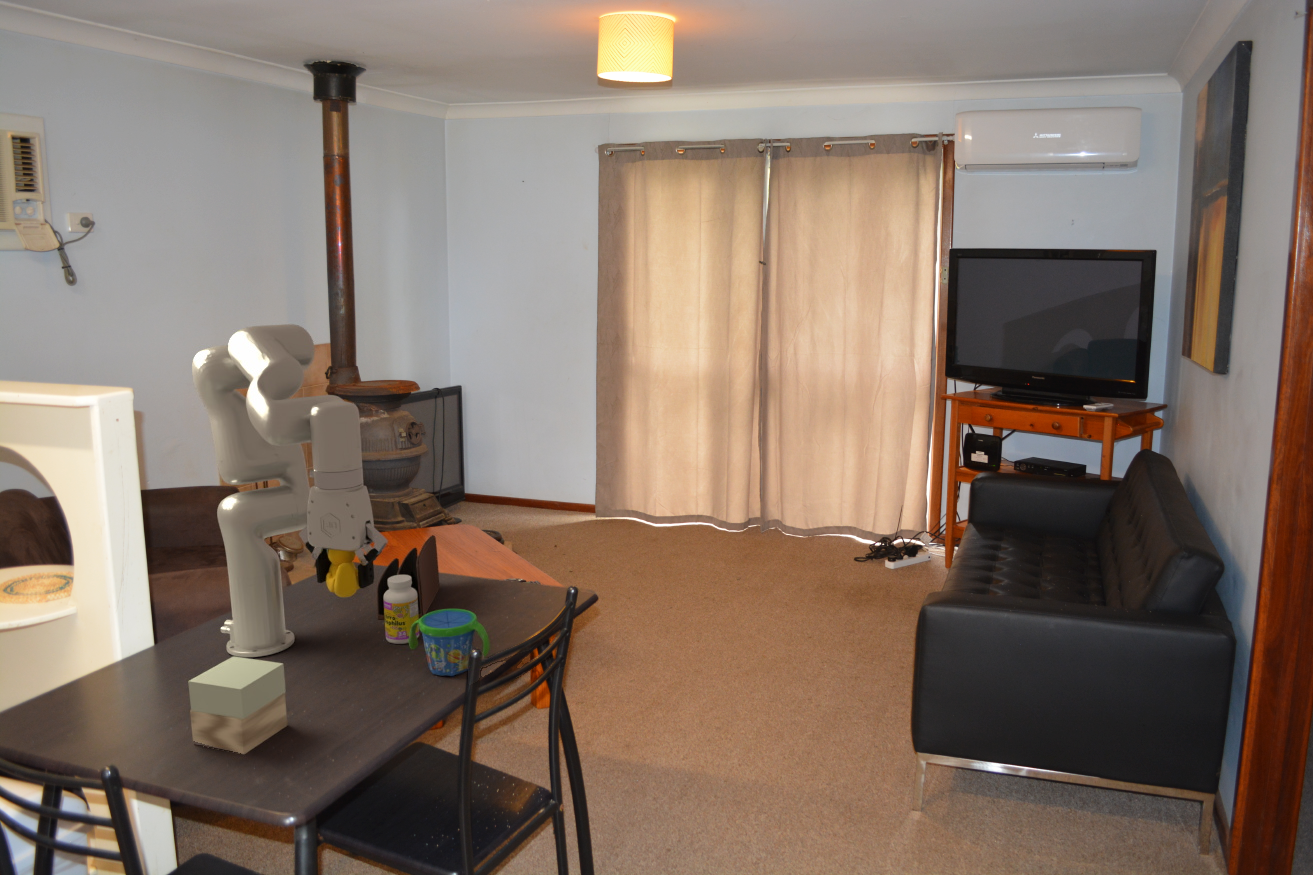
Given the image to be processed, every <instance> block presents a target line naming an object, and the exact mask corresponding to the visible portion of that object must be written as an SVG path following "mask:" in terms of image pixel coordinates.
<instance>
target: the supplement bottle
mask: <svg viewBox="0 0 1313 875" xmlns="http://www.w3.org/2000/svg"><path fill="white" fill-rule="evenodd" d="M411 584H412V578H411V576H409V575H395V576H392V577H390V578H388V587H389V590H387V591H386V592H385V593H384V615H385V619H384V630H385V631H384V633H385V639H386V641H387V642H388V643H391V644H395V645H397V644H398V645H401V644H402V645H405V644H409V633H410V629H411V626H412V625H413V623H414V622H416V621H417V620H418V619H419V617H418V596H417V591H416V590H415V589H414V588H412V587H411ZM415 633H416V636H417V639H418V638H419V637H420V627H419V624H417V627H416V632H415Z"/></svg>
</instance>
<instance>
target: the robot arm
mask: <svg viewBox="0 0 1313 875" xmlns="http://www.w3.org/2000/svg"><path fill="white" fill-rule="evenodd" d="M315 352H316V350H315V344H314V340H313V338H312V336H311V335H310V333H309V332H308V331H307V329H305V328H304V327H303V326H300V325H298V324H293V323H291V324H270V325H269V324H267V325H254V326H245V327H244V328H241V329H239V330H237V331H236V332H234V333H233V335H232V336H231V337H230V338H229V341H228V344H226V345H225V344H223V345H216V346H211V347H208V348H204V349H202V350H199V351H198V352H197V353H196V354H195V356H194V357H193V359H192V365H191V371H192V372H191V373H192V380H193V384H194V386H195V389H196V393H197V394H198V396H199V398H200V400H201V403H202V404H203V406H204V407H205V411H206V413H207V416H208V420H209V423H210V424H209V425H210V429H211V435H212V442H213V447H214V453H215V459H216V464H217V468H218V473H219V476H220V478H221V480H222V481H223V482H224V483H225V484H228V485H233V486H237V485H238V486H239V485H247V484H248V485H249V484H255V483H261V482H267V481H275V480H276V481H278V483H279V485H277V486H271V487H266V488H257V489H251V490H246V491H240V492H236V493H233V494H230V495H228V496H226V497H225V498H224V499H222V500H221V501H219V502H220V503H219V504H218V505H217V506H218V507H217V510H216V511H217V512H216V514H217V515H216V516H217V522H218V526H219V529H220V534H221V536H222V540H223V544H224V549H225V556H226V564H227V574H228V583H229V584H228V585H229V596H230V603H231V604H230V605H231V606H230V607H231V616H232V619H226V620H225V621H224V624H223V625H222V626H221V627H220V633H223V634H229V638H230V639H229V640H228V641H227V643H226V652H227V653H228V654H230V655H231V656H234V657H241V658H259V657H264V656H269V655H274V654H278V653H279V652H282V651H284V650H286V649H288V648H289V647H291V646H292V645H293V644H295V643H294V642H295V634H294V633H293V631H291V630H290V629H289V630H288V629H286V620H285V608H284V595H283V584H282V583H283V582H282V571H281V561H280V557H279V555H278V553H277V552H276V550H275V549H273V548H272V547H271V546H270V545H269V544H268V543H266V541H265V539H266V538H269V537H270V538H271V537H273V536H278V535H282V534H283V535H284V534H288V533H289V534H290V533H294V532H297V531H299V532H298V536H299V537H300V539H301V540H302V542H303V543H304V544H305V548H306V549H307V550H308V551H309V552H310V554H311V558H312V559H313V560H315V568H316V570H315V571H316V578H317V579H316V580H317V581H316V582H317V584H323V583H326V576H327V573H328V572H329V568H330V565H331V564H332V562H331V561H330V560H329V558H328V555H327V549H332V550H341V551H355V553H356V555H355V556H356V557H357V558H358V561H359V562H360V564H358V565H357V569H358V581H359V587H360V589H366V588H367V587H368V586H371V585H373V584H374V582H375V581H374V580H375V570H374V567H375V566H374V562H375V561H376V560H377V558H378V557H379V556H380V555H381V553H383V550H384V549H385V547H386V546H387V544H388V542H389V540H388V539H387V537H385V536H384V535H383V534H382V533H381V532H380V531H379V530H377V528H376V527H375V524H374V523H375V522H374V514H373V508H372V503H371V499H370V495H369V491H368V487H367V485H364V473H363V472H364V471H363V459H362V458H363V457H362V456H363V453H362V440H361V439H362V438H361V437H362V436H361V424H360V422H361V421H360V412H359V411H360V410H359V408H358V406H357V405H356V404H355V403H353V402H350V401H345V400H343V398H341V397H340V396H337V395H335V394H334V395H333V394H327V395H326V394H324V395H314V396H303V397H301V396H300V397H294V398H293V396H295V395H296V394H297V393H298V391H300V389H301V387H302V386H303V383H304V381H305V371H306V370H308V369H309V368H310V367H311V365H312V363H313V361H314V359H315V355H316V353H315ZM243 389H248V390H247V393H246V396H245V395H243V394H242V393H241V392H240V391H238V390H243ZM307 443H311V455H312V456H311V457H312V467H313V469H310V470H309V472H308V469H307V464H306V463H307V462H306V459H305V452H304V449H303V446H302V444H307ZM308 473H309V474H308ZM308 475H309V476H308ZM309 478H313V482H314V483H313V484H314V485H312V486H311V487H310V482H309ZM373 543H374V544H373ZM371 544H373V547H372V545H371Z"/></svg>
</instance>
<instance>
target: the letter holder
mask: <svg viewBox="0 0 1313 875" xmlns="http://www.w3.org/2000/svg"><path fill="white" fill-rule="evenodd" d="M436 539H437V538H436V536H435V535H433V534H432V535H430V536H429V537H428V538H427V540H426V541H425V542H424V543H423V545H422V547H421V549H420V551H419V554H418V548H417V547H413V548H412V549H411V550H409V551H408V553H407V554H406V555H405V557H404V559H402V562H401V564H400V560H399V558H393V560H392V561H390V563H389V564H388V565H387V567H386V568H385V569H384V570H383V572H382V573H381V576H380V577H379V579H378V582H377V585H376V612H377V618H376V619H377V620H384V621H385V615H384V593H385V592H386V591H387V590H389V587H388V578H390V577H392V576H395V575H409V576H411V578H412V584H411V587H412V588H414V589H415V590H416V591H417V596H418V617H419V619H420V618H421V617H422V616H424V615H425V614H427V612H428V610H429V608H430V606H431V604H432V603H433V602H434V600H435V597H436V596H437V594H438V591H439V590H440V584H441V583H440V574H439V573H440V571H439V561H438V560H439V559H438V558H439V557H438V549H437V548H438V547H437V540H436Z"/></svg>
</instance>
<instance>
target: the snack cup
mask: <svg viewBox="0 0 1313 875" xmlns="http://www.w3.org/2000/svg"><path fill="white" fill-rule="evenodd" d="M477 618H478V617H477V615H476V614H475V613H474V612H472V611H470V610H467V609H463V608H443V609H436V610H434V611H430V612H428V613H427V612H426V614H425V615H424V616H422V617H421V618H420V619H418V620H417V621H416V622H414V623H413V625H412V626H411V629H410V633H409V643H408V645H409V648H410V650H415V649H417V647H418V645H419V640H418V638H417V636H416V633H415V632H416V627H417V624H419V632H420V633H422V634H421V635H422V639H423V645H424V650H425V654H426V660H427V664H428V668H429V671H430V672H431V673H432V674H433V675H438V676H448V677H449V676H450V677H454V676H455V675H460V674H462V673H464V672H467V671H468V670H467V666H468V658H469V655H470V653H471V652H472V653H473V646H474V645H473V644H474V636H475V632H477V634H478V637H480V639H481V640H482V652H483V655H484V657H485V658H486V656H487V655H488V653H489V651H490V645H491V644H490V639H489V636H488V633H487V631H486V628H485V626H483V625H482V623H480V622H479V621H478V619H477Z"/></svg>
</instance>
